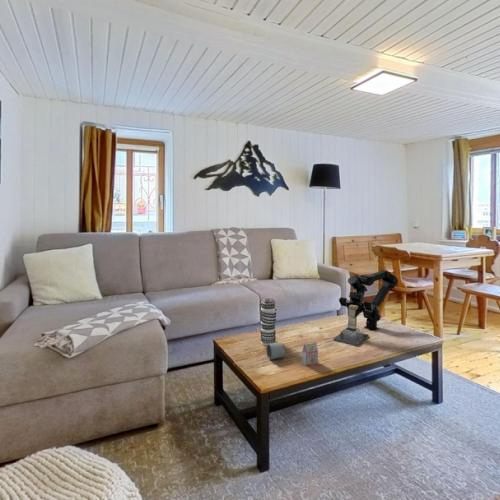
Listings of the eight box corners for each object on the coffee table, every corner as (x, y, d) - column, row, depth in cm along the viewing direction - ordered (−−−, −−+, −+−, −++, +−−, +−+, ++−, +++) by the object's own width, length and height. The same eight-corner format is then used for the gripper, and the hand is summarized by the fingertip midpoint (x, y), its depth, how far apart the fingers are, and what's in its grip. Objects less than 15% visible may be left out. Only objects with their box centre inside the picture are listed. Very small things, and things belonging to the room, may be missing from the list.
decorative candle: (262, 338, 191) (262, 296, 188) (278, 340, 188) (278, 297, 185) (257, 344, 182) (257, 300, 179) (273, 346, 179) (274, 302, 176)
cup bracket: (345, 330, 202) (345, 322, 201) (368, 336, 193) (369, 327, 192) (333, 340, 188) (333, 331, 187) (357, 346, 179) (358, 336, 178)
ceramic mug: (286, 359, 164) (286, 344, 163) (271, 362, 161) (271, 347, 161) (278, 351, 174) (278, 337, 173) (263, 353, 171) (263, 339, 171)
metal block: (350, 325, 192) (350, 304, 190) (356, 326, 190) (357, 305, 188) (347, 327, 189) (348, 306, 187) (354, 328, 187) (354, 307, 185)
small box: (301, 362, 161) (302, 343, 160) (313, 360, 164) (313, 340, 162) (305, 365, 158) (306, 346, 156) (317, 363, 160) (318, 343, 159)
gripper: (340, 283, 195) (332, 306, 188) (372, 288, 184) (365, 312, 176) (345, 294, 202) (337, 316, 195) (376, 298, 191) (369, 322, 184)
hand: (351, 316), depth 187 cm, fingers closed on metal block, 4 cm apart
